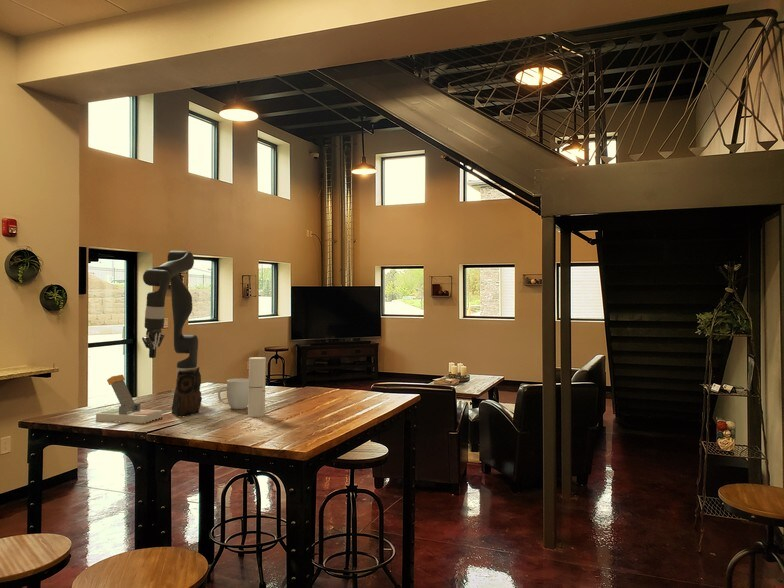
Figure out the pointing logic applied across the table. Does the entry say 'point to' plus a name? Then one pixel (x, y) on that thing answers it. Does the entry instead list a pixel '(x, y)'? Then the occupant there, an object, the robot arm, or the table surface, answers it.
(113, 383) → the lever
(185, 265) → the robot arm
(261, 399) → the white tall block
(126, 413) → the switch panel
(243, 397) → the mug
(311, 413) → the table surface
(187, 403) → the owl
